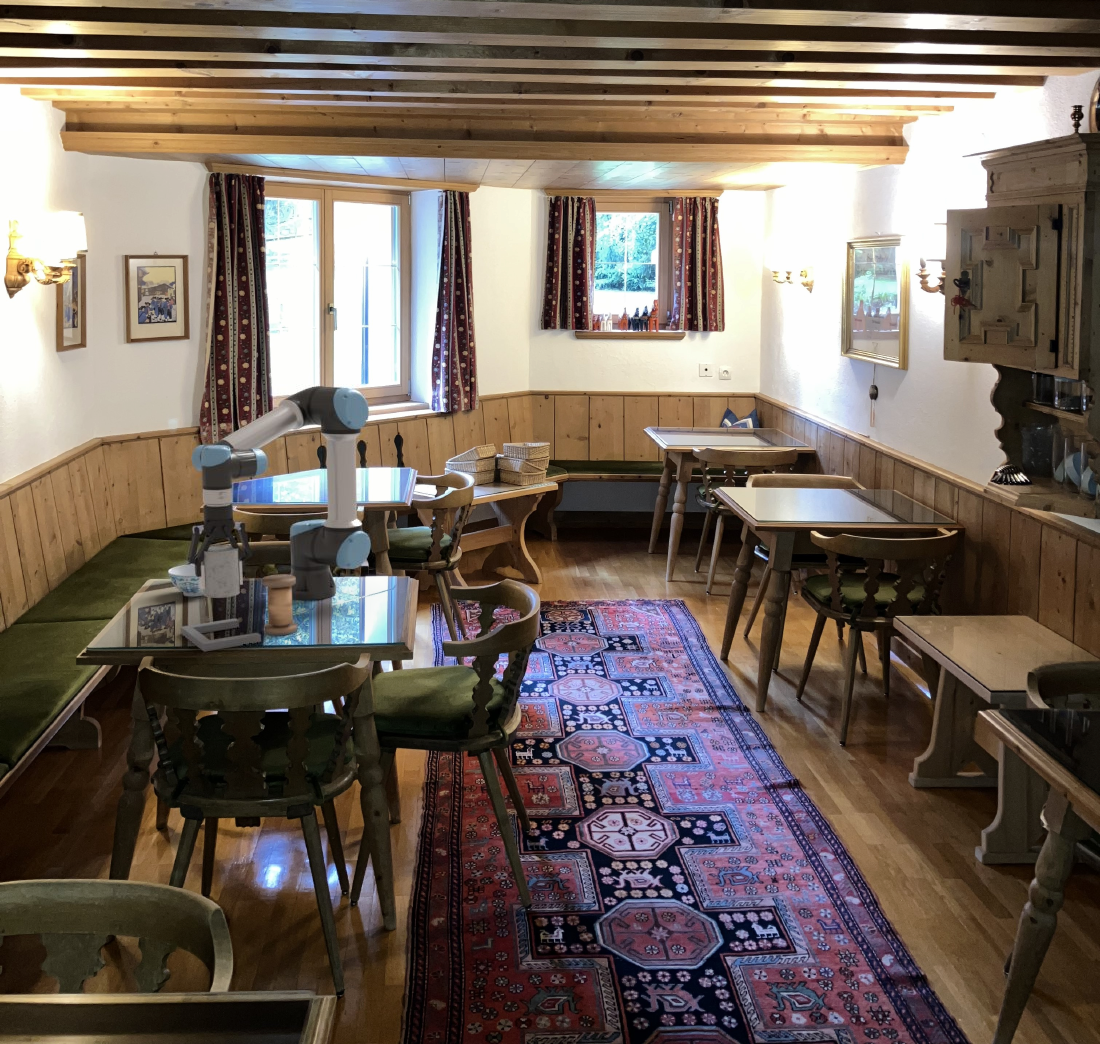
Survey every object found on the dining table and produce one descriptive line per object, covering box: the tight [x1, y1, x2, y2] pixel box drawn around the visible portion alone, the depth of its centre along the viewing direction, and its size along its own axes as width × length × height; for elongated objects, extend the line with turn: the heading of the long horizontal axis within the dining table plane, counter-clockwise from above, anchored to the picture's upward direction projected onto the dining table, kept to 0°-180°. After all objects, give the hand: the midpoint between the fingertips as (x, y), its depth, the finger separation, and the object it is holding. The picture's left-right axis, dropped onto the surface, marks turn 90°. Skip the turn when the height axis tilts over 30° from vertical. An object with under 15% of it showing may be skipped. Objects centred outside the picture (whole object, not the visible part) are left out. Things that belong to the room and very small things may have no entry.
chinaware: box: [167, 563, 204, 598], centre depth 360 cm, size 15×15×8 cm
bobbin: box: [261, 573, 298, 636], centre depth 321 cm, size 9×9×15 cm
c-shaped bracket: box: [180, 617, 262, 653], centre depth 315 cm, size 19×16×2 cm
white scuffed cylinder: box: [202, 544, 241, 599], centre depth 312 cm, size 10×10×12 cm
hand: (221, 585), depth 313 cm, fingers closed on white scuffed cylinder, 9 cm apart
